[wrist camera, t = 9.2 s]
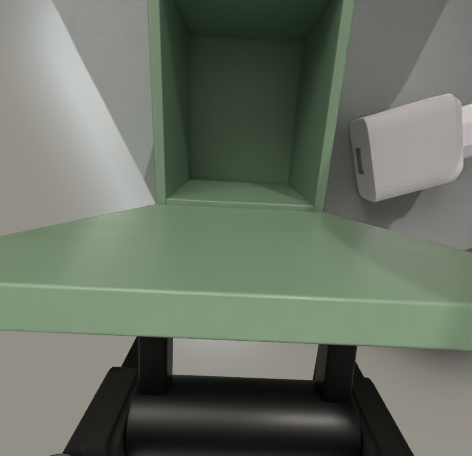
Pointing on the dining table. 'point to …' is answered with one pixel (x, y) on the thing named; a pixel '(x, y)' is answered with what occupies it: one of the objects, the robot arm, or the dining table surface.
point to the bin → (246, 100)
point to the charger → (411, 147)
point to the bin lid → (238, 314)
